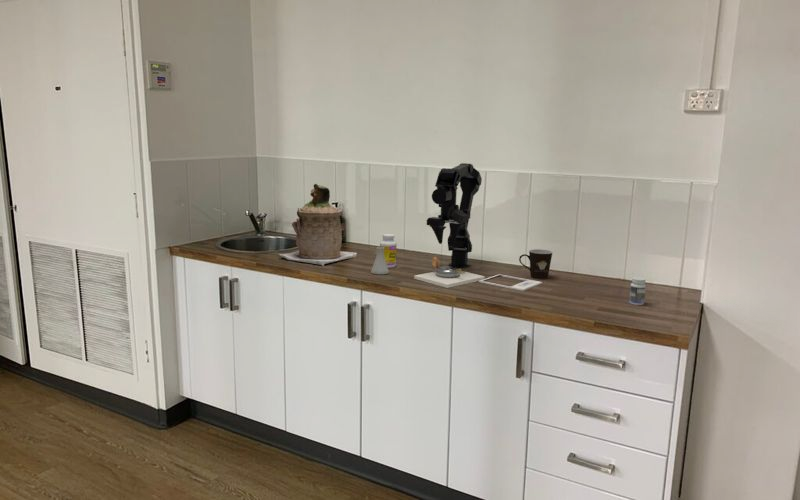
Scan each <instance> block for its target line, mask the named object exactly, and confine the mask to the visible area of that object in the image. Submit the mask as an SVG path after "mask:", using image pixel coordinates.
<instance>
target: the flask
mask: <svg viewBox="0 0 800 500" xmlns="http://www.w3.org/2000/svg"><path fill="white" fill-rule="evenodd" d="M375 256H376V257H375V260H374V263H373V266H372V268H371V271H370V273H371V274H373V275H388V274H390V271H389V268H387V265H386V261H385V258H384V247H380V246H377V247H376V255H375Z"/></svg>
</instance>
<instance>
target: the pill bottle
mask: <svg viewBox="0 0 800 500" xmlns="http://www.w3.org/2000/svg"><path fill="white" fill-rule="evenodd" d="M646 291H647V286H646V278H643V277H640V276H632V279H631V283H630V286H629V296H628V297H629V299H628V302H629V303H630V304H631V305H634V306H635V305H636V306H643V305H644V304H645V299H646Z"/></svg>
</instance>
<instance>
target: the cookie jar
mask: <svg viewBox="0 0 800 500" xmlns="http://www.w3.org/2000/svg"><path fill="white" fill-rule="evenodd" d="M330 194H331V192H330V189H329V188H328V187H326V186H324V185H319V184H318V183H314V184H313V188H312V189H311V190H310V196H311V197H312V199H311V200H310V201H309V202H307V203H305V204H304V206H303V207H301V206H299V207H298V208H297V211H296V215H297V217H298V218H296V221H293V222H292V223H291V227H292V228H293V230H294V232H295V234H296V236H295V238H296V239H295V245H296V246H297V248H298V250H296V251H292V252H289V253H279V254H278V255H279V256H280V257H281V258H284V259H285V260H288V261H295V262H302V263H308V264H314V265H319V266H321V267H324V266H325V264H330V263H335V262H338V261H342V260H343V261H344V260H347V259H355V258H357V255H358V253H357V252H351V251H341V248H342V242H343V241H342V240H343V235H342V225H341V224H342V223H341V217H340V216H341V215H342V213H343V210H342V209H340V208H339V209H338V208H336V207H334V206H332V205H331V204H330V203H329V202H330V199H331V198H330V197H331V195H330Z"/></svg>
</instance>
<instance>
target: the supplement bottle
mask: <svg viewBox="0 0 800 500" xmlns="http://www.w3.org/2000/svg"><path fill="white" fill-rule="evenodd" d="M397 245H398V244H397V241H395V234H393V233H384V234H382V240H381V241H380V242H379V247H384V258H385V261H386V265H387V268H388V269H389V268H394V267H396V266H397Z"/></svg>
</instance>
